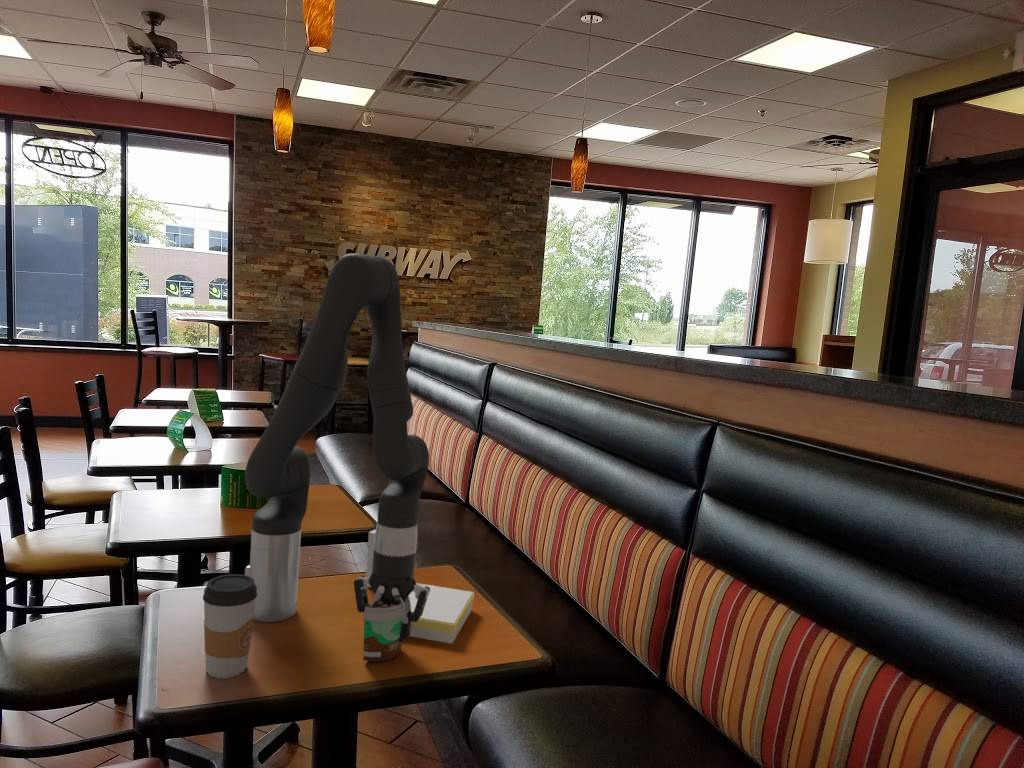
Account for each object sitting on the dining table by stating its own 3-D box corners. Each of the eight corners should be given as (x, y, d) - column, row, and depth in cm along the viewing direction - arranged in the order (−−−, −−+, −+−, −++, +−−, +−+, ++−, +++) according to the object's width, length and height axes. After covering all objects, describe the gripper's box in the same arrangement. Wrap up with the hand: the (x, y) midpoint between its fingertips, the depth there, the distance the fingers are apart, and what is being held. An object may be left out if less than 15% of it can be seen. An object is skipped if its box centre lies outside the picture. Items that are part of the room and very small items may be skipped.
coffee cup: (235, 686, 112) (240, 596, 110) (188, 677, 113) (192, 588, 112) (262, 661, 120) (267, 577, 119) (218, 653, 121) (222, 570, 120)
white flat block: (381, 632, 135) (382, 612, 134) (408, 599, 151) (409, 581, 150) (453, 644, 132) (455, 624, 132) (473, 610, 148) (474, 592, 148)
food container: (393, 670, 120) (397, 614, 119) (359, 664, 121) (363, 608, 120) (416, 639, 132) (420, 587, 131) (385, 633, 133) (389, 582, 132)
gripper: (348, 547, 122) (341, 640, 124) (427, 560, 120) (419, 654, 122) (365, 534, 130) (358, 622, 131) (439, 546, 127) (431, 635, 129)
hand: (387, 637), depth 126 cm, fingers closed on food container, 5 cm apart
